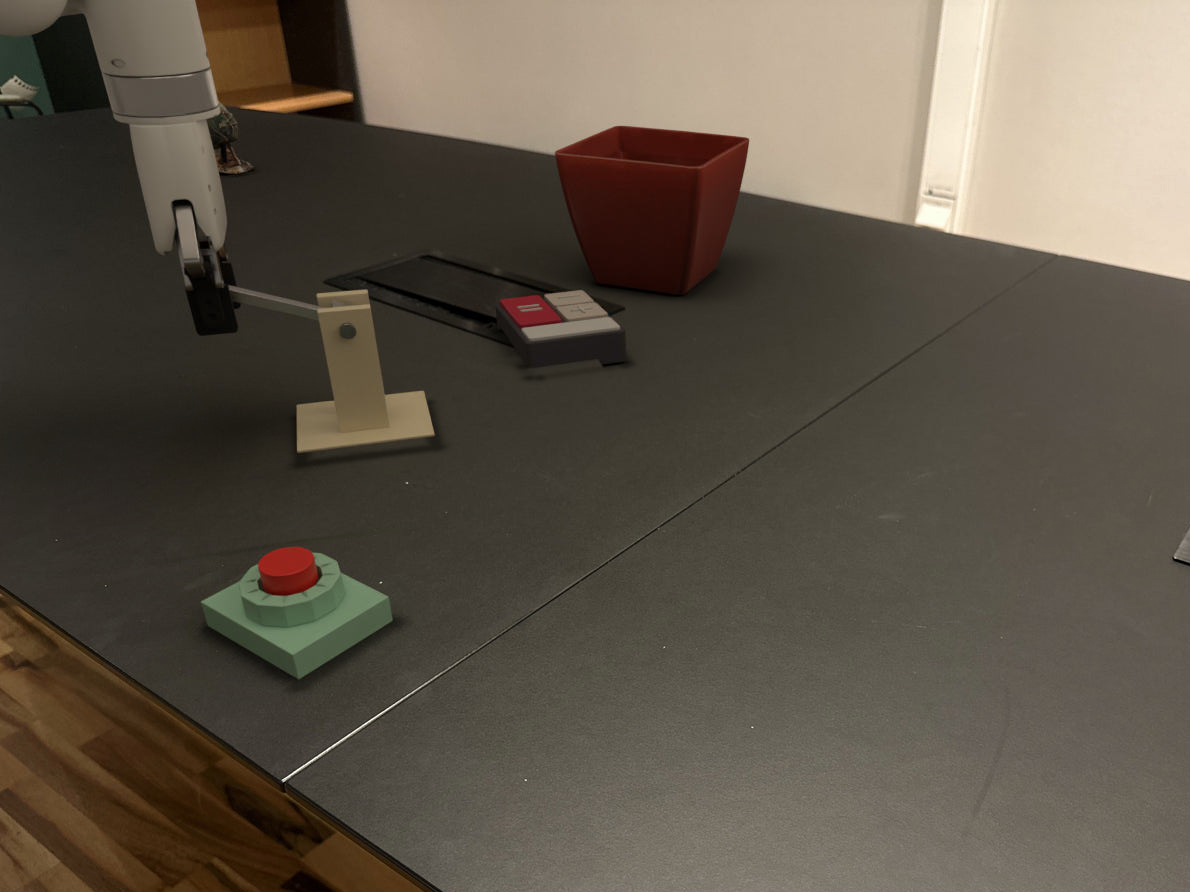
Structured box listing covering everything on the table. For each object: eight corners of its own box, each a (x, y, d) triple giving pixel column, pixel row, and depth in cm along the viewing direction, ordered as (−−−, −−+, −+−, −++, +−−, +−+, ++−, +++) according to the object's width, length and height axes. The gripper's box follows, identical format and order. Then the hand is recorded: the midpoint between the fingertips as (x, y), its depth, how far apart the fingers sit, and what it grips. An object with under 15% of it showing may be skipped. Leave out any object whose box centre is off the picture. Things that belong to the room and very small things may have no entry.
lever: (196, 309, 87) (201, 282, 86) (201, 290, 91) (205, 263, 90) (361, 346, 93) (367, 321, 92) (358, 326, 97) (363, 301, 96)
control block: (207, 626, 74) (193, 580, 72) (303, 574, 79) (292, 530, 77) (298, 680, 69) (286, 632, 67) (393, 621, 75) (385, 575, 73)
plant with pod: (207, 180, 175) (176, 49, 164) (198, 165, 183) (168, 39, 172) (259, 175, 178) (232, 46, 167) (247, 161, 186) (221, 37, 175)
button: (252, 585, 72) (246, 563, 71) (296, 561, 74) (291, 540, 74) (285, 603, 70) (280, 581, 69) (329, 578, 73) (325, 557, 72)
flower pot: (620, 247, 150) (616, 122, 141) (747, 264, 145) (752, 136, 135) (559, 288, 134) (550, 151, 125) (698, 309, 129) (700, 168, 120)
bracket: (299, 462, 94) (269, 327, 87) (298, 415, 102) (271, 287, 95) (436, 445, 98) (418, 313, 91) (425, 401, 105) (407, 276, 99)
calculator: (585, 286, 124) (626, 323, 113) (587, 321, 127) (627, 361, 115) (493, 296, 121) (525, 336, 109) (497, 333, 123) (529, 375, 111)
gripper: (123, 78, 86) (181, 292, 96) (92, 119, 73) (163, 363, 83) (222, 75, 88) (268, 284, 98) (209, 114, 75) (264, 353, 85)
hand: (219, 318), depth 90 cm, fingers closed on lever, 5 cm apart
